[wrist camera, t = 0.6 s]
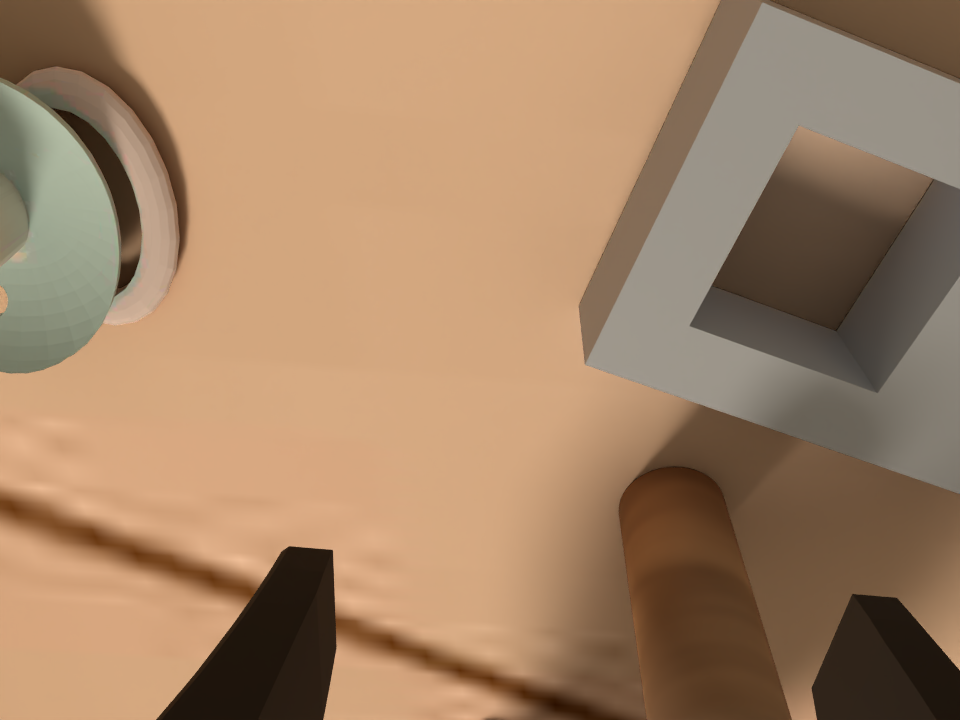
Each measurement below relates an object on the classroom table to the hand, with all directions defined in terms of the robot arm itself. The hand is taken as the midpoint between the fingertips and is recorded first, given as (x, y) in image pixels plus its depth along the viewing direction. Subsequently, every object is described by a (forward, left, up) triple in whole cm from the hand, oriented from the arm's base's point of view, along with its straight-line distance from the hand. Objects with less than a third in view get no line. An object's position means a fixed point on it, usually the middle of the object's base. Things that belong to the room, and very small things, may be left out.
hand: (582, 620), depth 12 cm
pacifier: (-2, +12, -11) cm, 17 cm away
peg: (-5, -6, -11) cm, 13 cm away
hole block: (+4, -9, -11) cm, 14 cm away
